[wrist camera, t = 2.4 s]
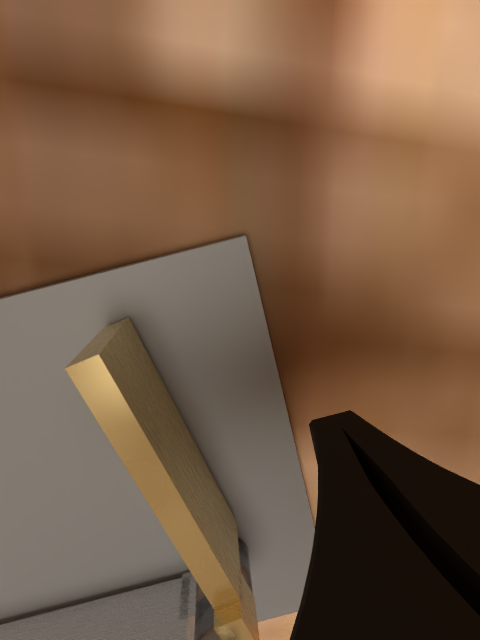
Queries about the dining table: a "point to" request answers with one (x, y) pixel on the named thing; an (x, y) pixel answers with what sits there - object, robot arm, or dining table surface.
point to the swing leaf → (168, 474)
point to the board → (103, 461)
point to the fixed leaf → (125, 613)
